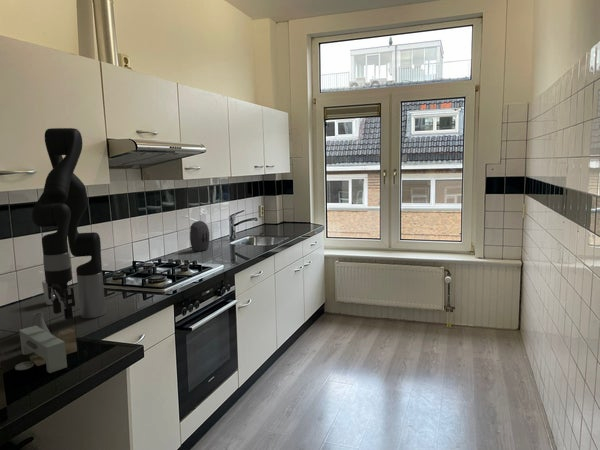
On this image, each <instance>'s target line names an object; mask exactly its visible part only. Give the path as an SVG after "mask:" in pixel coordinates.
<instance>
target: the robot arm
mask: <svg viewBox="0 0 600 450" xmlns="http://www.w3.org/2000/svg"><path fill="white" fill-rule="evenodd" d="M44 143H45V144H44V145H45V147H46V151H47V156H48V158H49V161H50V163H51V167H52V169H51V170H50V172H49V173H48V174H47V175H46V179H45V182H44V186H43V192H42V193H41V195H40V197H39V198H38V199H37V201H36V203H35V204H34V206H33V208H32V210H31V220H32V222H33V224H34V225H35V226H36V227H39V228H47V227H48V228H51V227H57V229H56V232H53V233H52V232H51V233H48V234H45V235H43V236H42V238H41V246H42V253H43V256H42V257H43V258H42V259H43V260H42V261H43V262H42V263H43V269H44V270H43V271H44V280H45V281H46V283H47V287H48V298H49V300H50V299H51V302H53V305H52V311H53V314H54V315H57V314H61V313H62V307H63V312H64V313H63V314H64V320H66V321H68V320H72V319H73V318H74V316H73V307H75V306H76V299H75V293H74V288H73V287H69V284H68V283H69V282H71V281H72V280H73V272H72V263H71V257H70V256H71V255H72V256H73V257H75V258H76V257H78V258H80V257H91V258H90V260H89V261H87V262H85V263H83V264H80V265H77V267H76V268H75V273H76V281H77V291H78V300H79V301H78V303H79V312H80V317H81V319H95V318H99V317H102V316H104V315H105V314H106V313H107V309H106V308H107V307H106V300H105V299H106V298H105V287H104V276H103V267H102V266H103V265H102V251H101V250H102V248H101V246H102V244H101V237H100V234H99V233H98V232H95V231H94V232H92V231H91V232H79V231H78V226H79V224H80V220H81V219H82V217H83V215H84V214H85V212H86V210H87V208H88V206H89V205H88V204H89V199H88V193H87V189H86V188H87V187H86V186H85V184H84V183H83V182H82V180H81V179H80V178H79V177H78V176H77V175H76V174H75V173H74V171H75V170H76V166H77V165H78V162H79V159H80V156H81V153H82V151H83V137H82V133H81V132H80V130H79V129H77V128H73V127H63V128H62V127H55V128H52V127H51V128H47V129H45V132H44ZM63 156H64V157H63ZM69 251H70V252H69ZM70 253H71V255H70Z"/></svg>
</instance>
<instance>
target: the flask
mask: <svg viewBox="0 0 600 450" xmlns="http://www.w3.org/2000/svg"><path fill="white" fill-rule="evenodd" d="M32 317H33V321H34V322H33V326H38V327H40V328H41V329H43V330H45V331H47V332H48V333H50V334H52V333H51V332H50V330H49V328H48V326H47V324H46V323H45V319H44V311H43V312H42V311H39V312H38V311H37V312H35V313H33V314H32Z"/></svg>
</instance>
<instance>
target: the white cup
mask: <svg viewBox="0 0 600 450" xmlns="http://www.w3.org/2000/svg"><path fill="white" fill-rule="evenodd" d="M41 284H42V290H43V296H44V300H45V304H46V305H47V306H49V305H50V306H53V302H51V299H50V300H49V298H48V287H47V283H46V281H45V279H43V280H42V281H41Z"/></svg>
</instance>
